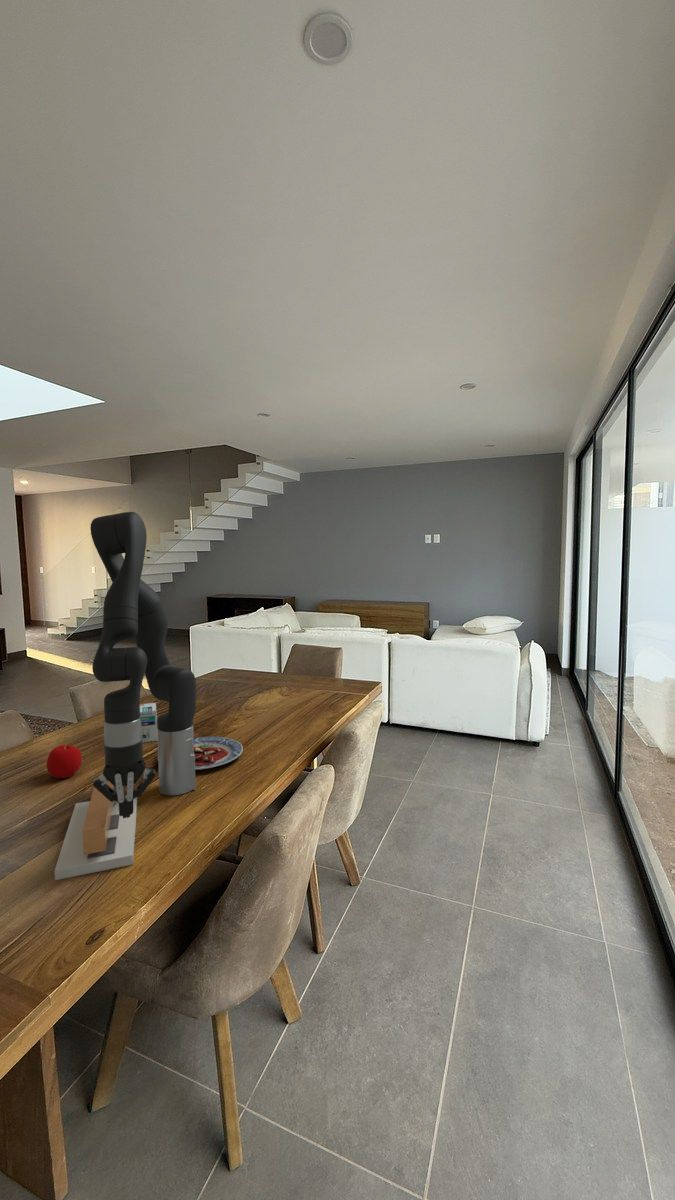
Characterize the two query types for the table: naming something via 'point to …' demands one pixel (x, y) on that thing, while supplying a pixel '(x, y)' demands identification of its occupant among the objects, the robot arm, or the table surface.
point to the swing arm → (97, 822)
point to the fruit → (64, 761)
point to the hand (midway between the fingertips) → (126, 816)
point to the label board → (113, 857)
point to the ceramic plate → (215, 751)
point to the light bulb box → (148, 722)
